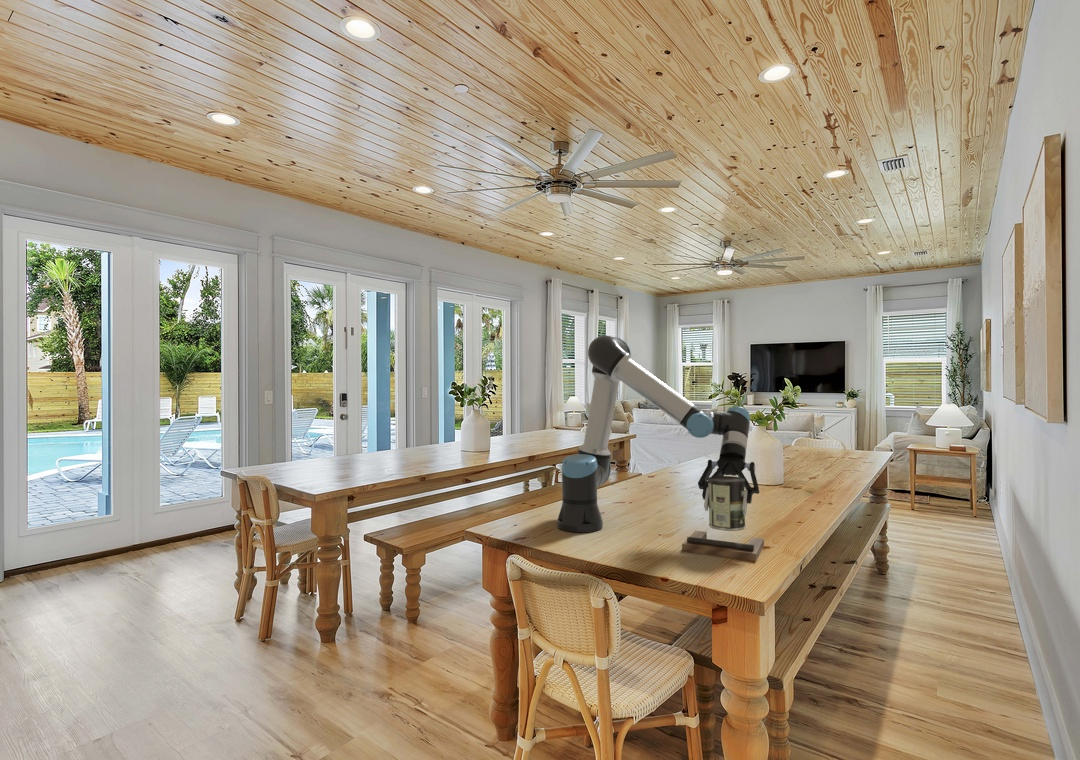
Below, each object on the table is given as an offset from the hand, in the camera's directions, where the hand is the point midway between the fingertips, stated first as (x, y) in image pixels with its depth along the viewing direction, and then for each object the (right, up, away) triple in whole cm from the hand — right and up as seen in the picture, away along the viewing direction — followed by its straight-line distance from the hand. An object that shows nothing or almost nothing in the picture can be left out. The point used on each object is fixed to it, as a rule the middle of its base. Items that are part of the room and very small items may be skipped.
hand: (724, 510), depth 163 cm
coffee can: (+1, -6, +3) cm, 6 cm away
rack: (0, -11, +1) cm, 11 cm away
